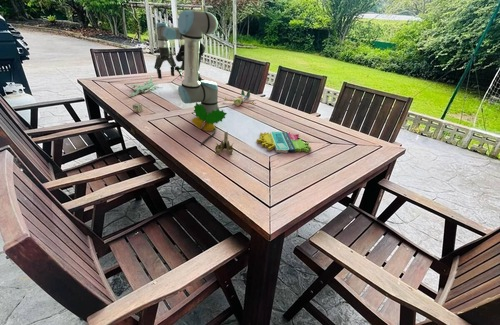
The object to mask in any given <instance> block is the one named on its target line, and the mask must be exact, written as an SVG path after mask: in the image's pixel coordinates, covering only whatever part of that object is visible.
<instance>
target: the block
mask: <svg viewBox="0 0 500 325" xmlns="http://www.w3.org/2000/svg"><path fill="white" fill-rule="evenodd" d="M132 110H133V113H136V114H137V113H142V112H143V110H144V109H143V104H142V103H134V104H132Z"/></svg>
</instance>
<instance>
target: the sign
mask: <svg viewBox="0 0 500 325" xmlns="http://www.w3.org/2000/svg"><path fill="white" fill-rule="evenodd" d="M299 136H300V135H299V134H298V133H296V134H294V133H291V132H287V131H270V132H264V133H263V132H260V133H259V139H258V138H257V139H256V143H257V144H261V148H263V147H264V148H265V149H267V151H268V152H271V151H272V150H273V149H275V152H276V153H283V154H285V153H287V154H288V153H290V154H293V153H296V152H298V153H301V152H305V153H310V151H311V150H312V149H311V148H312V146H309V142H304V141H303V139H302V138H299Z"/></svg>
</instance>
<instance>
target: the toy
mask: <svg viewBox="0 0 500 325" xmlns="http://www.w3.org/2000/svg"><path fill="white" fill-rule="evenodd" d="M240 92H241V93H240V95H238V96H237V97H235V99H233V98H230V99H228V98H227V97H226V96H225V97H224V98H223V101H224V102H233V103H232V104H233V105H235V106H242V103H243V104H247V105H252V106H255V105H256V104H257V103H256V102H254V101H253V100H252V101H251V102H250V101H248V100H246V99H248V98H250V97H251V90H250V89H249V90H248V91H247V92H246V93H245V91H244V89H242V90H241V91H240Z"/></svg>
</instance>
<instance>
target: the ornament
mask: <svg viewBox="0 0 500 325" xmlns="http://www.w3.org/2000/svg"><path fill="white" fill-rule="evenodd" d="M219 110H220V108H219V109H217V110H216V111H214V110H212V112H211V113H208V112H206V109H204V106H201V103H199V102H195V105H194V106H193V112H194V113H195V118H192V119H191V122H192V123H193V125H195V127H197V128H198V129H202V130H203V131H206V132H214V128H215V129H216V126H215V124H218V123H219V122H223V119H226V115H227V114H228V113H227V112H224V110H223V109H221V110H220V111H219ZM207 113H208V115H207ZM214 123H215V124H214Z"/></svg>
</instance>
